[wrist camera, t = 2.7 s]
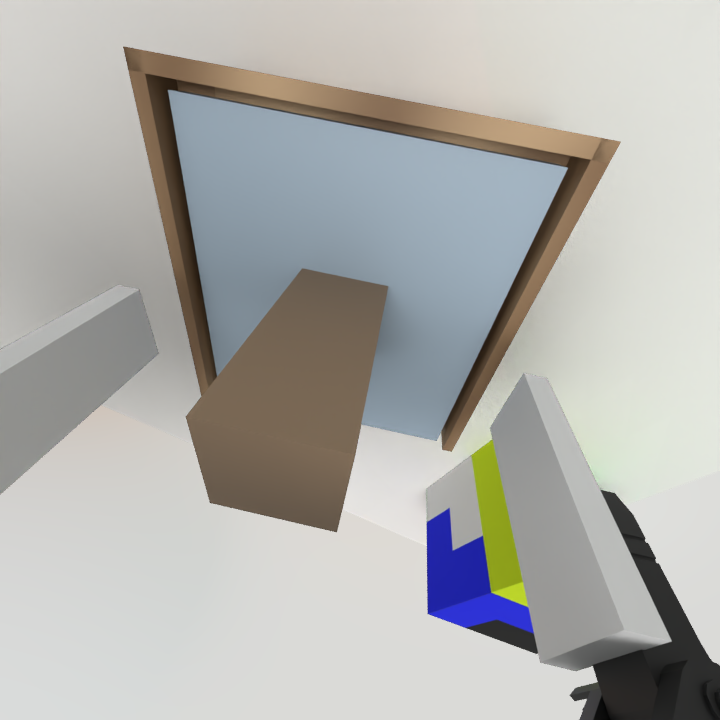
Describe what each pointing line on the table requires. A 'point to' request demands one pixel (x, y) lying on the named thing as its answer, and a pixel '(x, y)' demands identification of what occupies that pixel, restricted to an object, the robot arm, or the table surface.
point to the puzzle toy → (476, 554)
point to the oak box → (390, 114)
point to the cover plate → (361, 234)
